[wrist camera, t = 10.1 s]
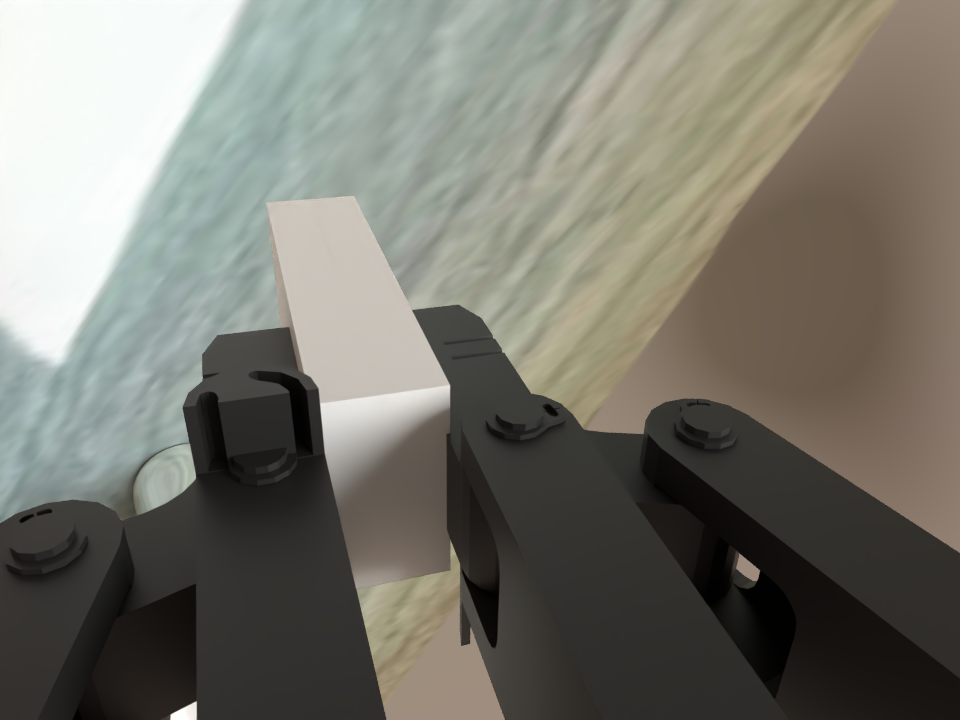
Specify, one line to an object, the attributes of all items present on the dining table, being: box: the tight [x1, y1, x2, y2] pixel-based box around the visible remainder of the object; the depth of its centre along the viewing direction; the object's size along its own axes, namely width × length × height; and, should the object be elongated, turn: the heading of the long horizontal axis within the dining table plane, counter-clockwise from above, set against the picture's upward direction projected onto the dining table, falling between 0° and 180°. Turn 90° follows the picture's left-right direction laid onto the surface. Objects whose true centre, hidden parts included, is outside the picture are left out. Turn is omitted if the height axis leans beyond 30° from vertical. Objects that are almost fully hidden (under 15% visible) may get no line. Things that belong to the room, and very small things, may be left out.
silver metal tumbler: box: [133, 444, 197, 720], centre depth 39 cm, size 7×7×15 cm
